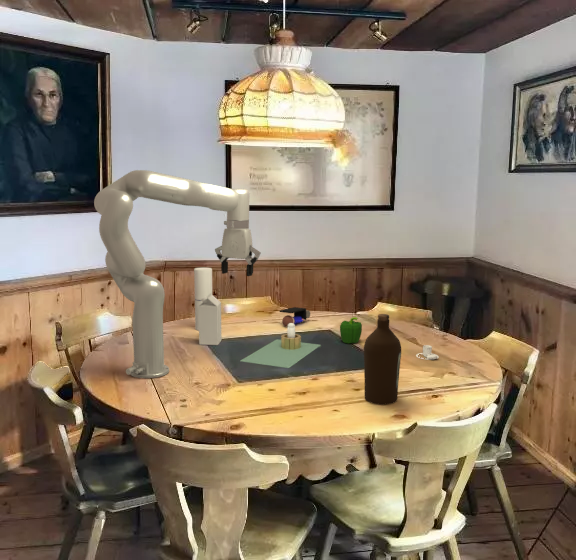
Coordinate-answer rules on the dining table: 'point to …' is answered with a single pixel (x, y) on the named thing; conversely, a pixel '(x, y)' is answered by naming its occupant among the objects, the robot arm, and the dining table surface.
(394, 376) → the olive oil
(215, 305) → the milk carton
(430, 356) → the white charger with cable
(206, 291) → the cylindrical container
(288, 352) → the post board
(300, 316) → the figurine character
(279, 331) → the dining table surface
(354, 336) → the bell pepper
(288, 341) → the brass ring
